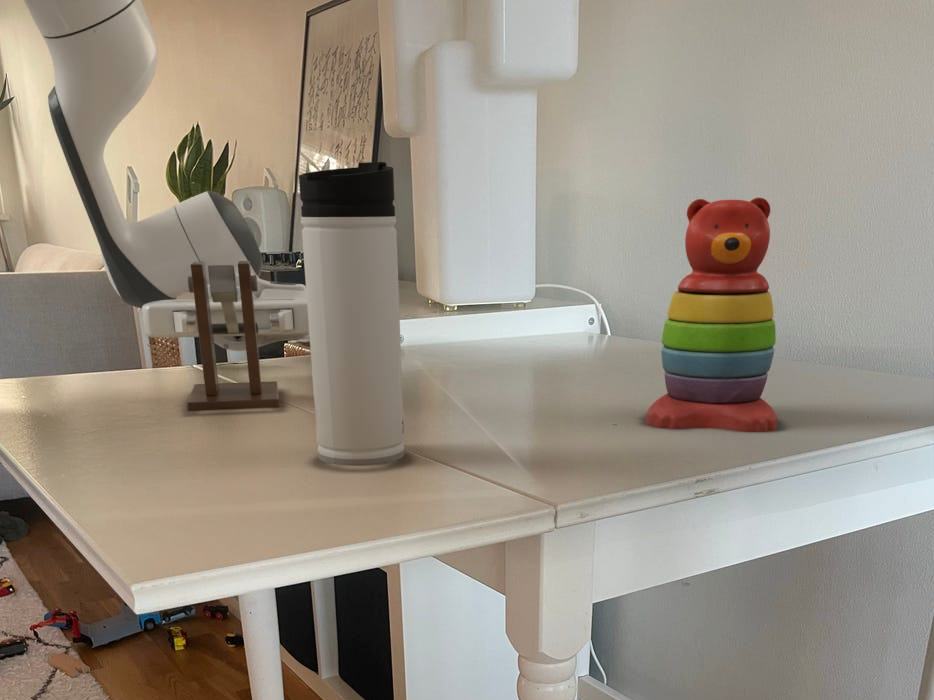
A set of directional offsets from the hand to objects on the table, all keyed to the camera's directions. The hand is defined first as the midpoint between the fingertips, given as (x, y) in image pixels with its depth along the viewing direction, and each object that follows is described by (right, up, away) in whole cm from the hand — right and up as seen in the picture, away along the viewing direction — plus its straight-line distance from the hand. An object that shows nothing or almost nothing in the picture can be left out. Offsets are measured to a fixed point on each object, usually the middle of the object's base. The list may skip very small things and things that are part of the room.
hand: (233, 324), depth 106 cm
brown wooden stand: (+4, -13, -14) cm, 20 cm away
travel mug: (+19, -22, -35) cm, 45 cm away
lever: (+3, -3, -12) cm, 13 cm away
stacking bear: (+47, -16, -22) cm, 54 cm away
